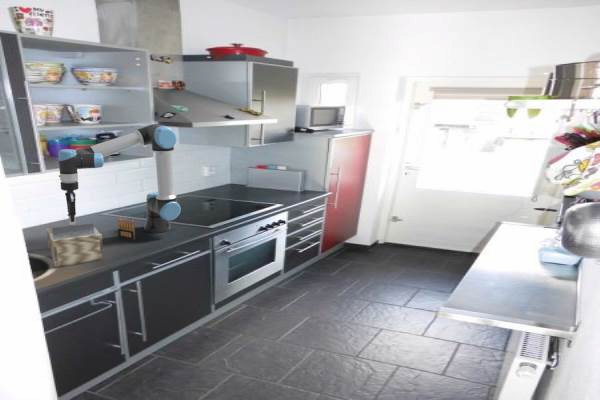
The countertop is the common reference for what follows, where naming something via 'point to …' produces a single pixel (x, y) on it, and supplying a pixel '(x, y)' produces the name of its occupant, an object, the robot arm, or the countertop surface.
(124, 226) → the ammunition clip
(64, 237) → the lid
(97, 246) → the housing
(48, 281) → the countertop surface
